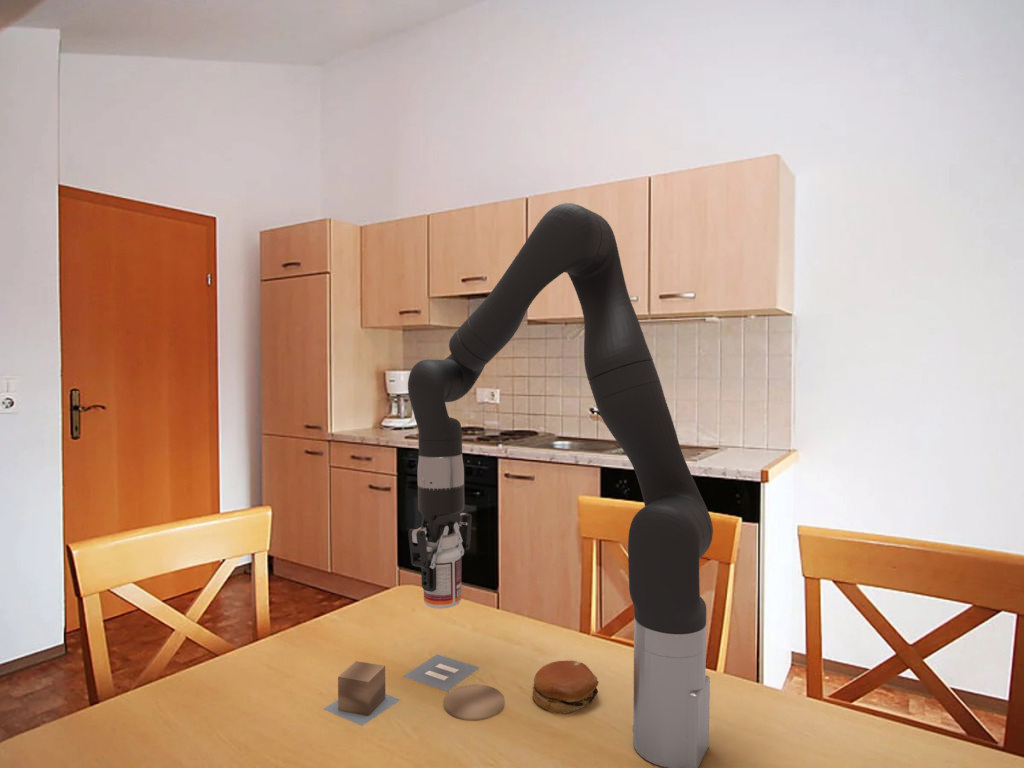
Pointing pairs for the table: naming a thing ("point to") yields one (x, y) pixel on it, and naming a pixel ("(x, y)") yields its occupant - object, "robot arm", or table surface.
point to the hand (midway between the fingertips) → (442, 583)
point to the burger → (564, 686)
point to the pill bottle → (446, 575)
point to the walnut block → (361, 688)
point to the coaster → (473, 702)
